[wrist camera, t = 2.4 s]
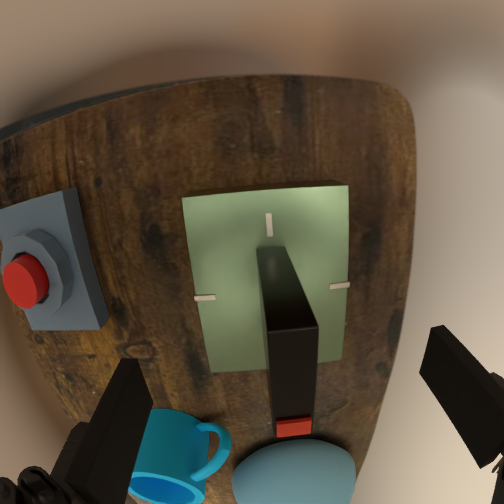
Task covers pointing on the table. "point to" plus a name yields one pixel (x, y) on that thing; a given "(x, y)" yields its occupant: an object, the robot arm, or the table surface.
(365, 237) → the table surface
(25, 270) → the button
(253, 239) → the dial panel
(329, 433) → the table surface
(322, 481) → the sugar bowl
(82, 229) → the button housing
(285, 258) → the black slab
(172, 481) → the mug
